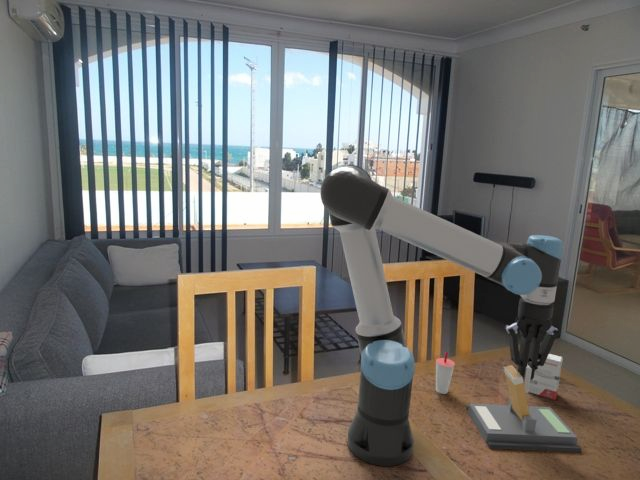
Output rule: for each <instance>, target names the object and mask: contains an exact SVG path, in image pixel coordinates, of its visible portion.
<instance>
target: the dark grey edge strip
mask: <svg viewBox="0 0 640 480" xmlns="http://www.w3.org/2000/svg"><path fill="white" fill-rule="evenodd" d="M487 447H488V448H489V449H499V450H500V449H505V450H523V451H524V450H525V451H527V450H528V451H530V450H531V451H548V452H549V451H550V452H551V451H552V452H572V453H574V452H575V453H580V452H581V453H582V447H581V446H580V445H577V444H576V445H555V444H532V443H509V442H488V443H487Z"/></svg>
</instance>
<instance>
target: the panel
mask: <svg viewBox="0 0 640 480" xmlns="http://www.w3.org/2000/svg"><path fill="white" fill-rule="evenodd" d="M507 403H508V404H489V403H471V402H470V403H468V405H467V406H468V411H467V413H468V415H469V416H470V418H471V420H472V422H473V423H474V425H475V427H476V428H477V430H478V432H479V433H480V436H481V437H482V439H483V440H484V442H485V443H486V444H488V442H509V443H532V444H555V445H577V444H578V436H577V434H575V433H574V432H573V430H572V429H571V428H570V427H569V426H568V425H567V424H566V423H565V422H564V421H563V420H562V419H561V417H560V416H559V415H558V414H557V413H556V412H555V411H554V410H553V408H551V407H550V406H539V407H535V406H532V405H531V406H530V405H528V408H529V413H530V416H524V418H523V422H522V420H521V419H520V418H519V416H518V415H517V414H516V413H515V411H514V410H513V409H512V404H511V400H510V396H509V397H508V402H507Z"/></svg>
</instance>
